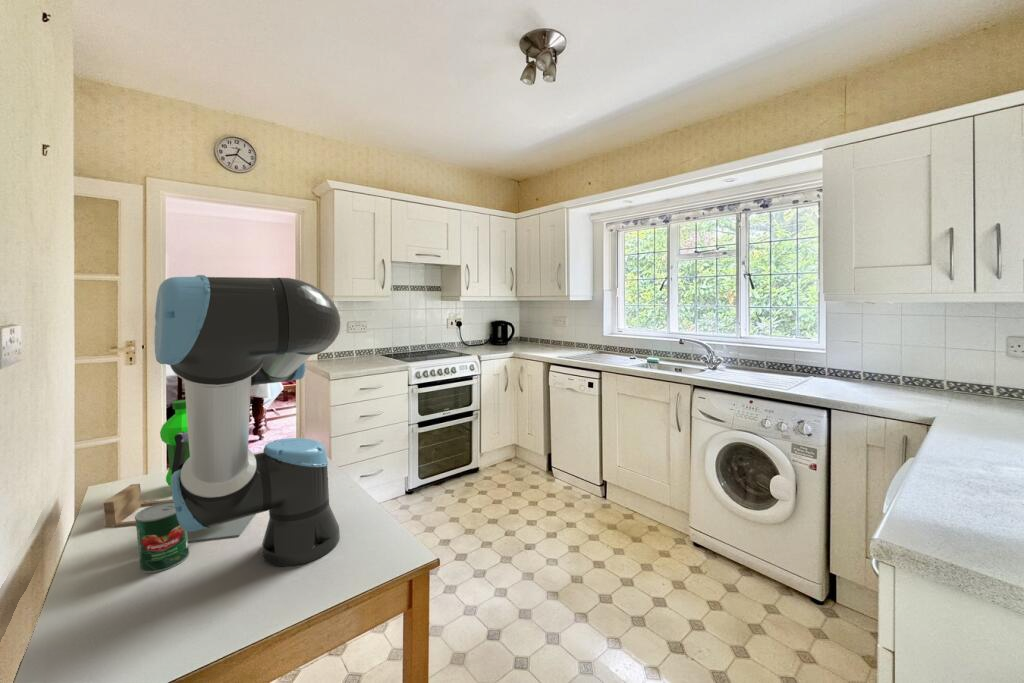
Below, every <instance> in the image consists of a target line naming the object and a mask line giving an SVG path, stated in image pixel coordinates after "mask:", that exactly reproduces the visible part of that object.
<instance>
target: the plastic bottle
mask: <svg viewBox="0 0 1024 683" xmlns="http://www.w3.org/2000/svg"><path fill="white" fill-rule="evenodd" d="M171 405H172V406H171V407H172V410H174V412H175V413H174V414H173V415H172V416H171V417H170V418H168V419H167V421H165V422H164V424H163V425H162V426H161V429H160V431H159V434H160V436H159V437H160V439H161V441H162V442H163V443H165V444H166V445H167V455H168V456H167V458H168V465H169V466H168V467H169V468H168V471H167V474H166V476H165V482H166V483H167V485H168V486H170V487H171V476H172V475H171V473H172V467H173V461H174V455H175V449H176V443H175V439H174V437H175V436H176V435H177V434H179V433H181V432H185V433H186V432H188V424H187V411H186V399H178V400H174V401H172V402H171ZM189 457H190V451H189V440H188V441H187V449H186V455H185V461H186V460H187V459H188V458H189ZM185 461H184V463H185Z"/></svg>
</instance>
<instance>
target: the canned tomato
mask: <svg viewBox="0 0 1024 683" xmlns="http://www.w3.org/2000/svg"><path fill="white" fill-rule="evenodd" d="M134 519H135V521H136V525H135V527H136V528H135V529H136V539H137V543H138V544H137V547H138V557H139V564H140V565H139V566H140V567H139V568H140V569H139V570H140V571H141V572H143V573H146V574H154V573H159V572H164V571H167V570H169V569H172V568H174V567H177V566H178V565H180V564H182V563H183V562H185V561H186V559H187V558H188V557H189V555H190V550H189V548H190V547H189V542H188V537H187V535H188V534H187V531H185V530H183V529H182V528H181V526H180V524H179V522H178V519H177V516H176V510H175V507H174V504H173V501H169V502H163V503H159V504H156V505H149V506H148V507H147V506H146V508H143V509H142V510H140V511H139V512H137V513H136V515H135V516H134Z"/></svg>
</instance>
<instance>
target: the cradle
mask: <svg viewBox="0 0 1024 683" xmlns="http://www.w3.org/2000/svg"><path fill="white" fill-rule="evenodd" d="M169 501H173V498H172V499H161V500H153V501H152V500H151V501H143V500H142V491H141V483H134V484H133V483H132V484H131V483H130V485H128V486H126V487H125V488H123V489H121V490H120V491H119V492H117V493H115V494H114V495H113V496H111V497H110V498H108V499H107V500H105V501H104V502H103V509H104V510H103V512H104V519H105V527H114V528H118V527H128V526H136V520H128V521H124V520H126V519H127V518H129V516H131V515H132V514H134V513H135V512H136V511H137V510H139V509H141V508H142V507H147V506H148V507H149V506H153V505H156V504H159V503H163V502H169Z"/></svg>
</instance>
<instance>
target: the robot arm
mask: <svg viewBox="0 0 1024 683" xmlns="http://www.w3.org/2000/svg"><path fill="white" fill-rule="evenodd" d="M154 314H155V315H154V318H155V325H154V356H155V359H156V360H155V361H156V362H157V363H159V364H160V365H168V366H170V369H171V370H172V371H173V373H174V374H175V376H177V377H179V378H180V379H181V380H183V381H184V382H183V383H184V394H185V400H186V411H187V424H188V432H186V433H185V432H181V433H179V434H177V435H176V436H175V437H174V439H175V443H176V449H175V455H174V461H173V467H172V473H171V475H172V476H171V486H170V490H171V496H172V499H173V504H174V507H175V510H176V516H177V519H178V522H179V524H180V526H181V528H182V529H183V530H185V531H188V532H192V531H196V530H201V529H208V528H211V527H213V526H217V525H220V524H223V523H227V522H230V521H234V520H237V519H240V518H244V517H247V516H251V515H254V514H255V515H257V514H261V513H264V512H268V514H269V519H268V523H267V526H266V530H265V531H264V532H265V533H264V536H263V540H262V544H261V550H262V551H261V553H262V554H261V555H262V559H263V560H264V562H265V563H267V564H268V565H272V566H276V567H277V566H278V567H291V566H293V567H294V566H298V565H302V564H303V565H304V564H306V563H309V562H312V561H313V562H314V561H315V560H317V559H320V558H321V557H323V556H326V554H328V553H330V552H331V551H332V550H333V549H335V547H336V546H337V545H338V543H339V541H340V538H341V537H340V533H341V532H340V525H339V523H338V521H337V519H336V517H335V514H334V512H333V510H332V507H331V506H330V494H329V492H330V491H329V489H330V488H329V477H328V476H329V474H328V473H329V472H328V465H329V462H328V456H327V450H326V447H325V445H324V444H323V443H322V442H320V441H318V440H315V439H312V438H303V437H289V438H288V437H287V438H280V439H275V440H273V441H270V442H267V443H266V444H265V446H264V448H263V452H260V453H253V452H252V451H251V450H250V449H249V438H250V433H249V432H250V413H251V412H250V410H251V390H252V389H251V387H252V386H257V385H265V384H267V385H268V384H275V383H276V384H277V383H283V382H285V383H290V382H291V381H297V380H301V379H303V378H304V376H305V373H306V361H307V360H308V359H309V358H310V357H311V356H313V355H314V356H315V355H318V354H321V353H322V352H324V351H325V350H327V349H328V348H329V347H330V346H331V345H332V344H333V343H334V342H335V341H336V340H337V337H339V334H340V329H341V316H340V314H339V310H338V308H337V306H336V304H335V303H334V301H333V300H332V299H331V297H329V296H328V295H327V293H325V292H324V291H322V290H321V289H320V288H318V287H316V286H314V285H313V284H311V283H309V282H307V281H303V280H300V279H296V278H291V277H244V276H243V277H242V276H241V277H239V276H238V277H237V276H234V277H232V276H226V277H224V276H223V277H222V276H217V277H216V276H206V275H205V274H198V275H195V276H173V277H169V278H166V279H164V280H163V281H162V282H161V284H160V285H159V287H158V290H157V295H156V302H155V313H154ZM188 440H189V451H190V457H189V458H188V459H187V460H186V461H185V455H186V449H187V441H188ZM184 461H185V463H184Z"/></svg>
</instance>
